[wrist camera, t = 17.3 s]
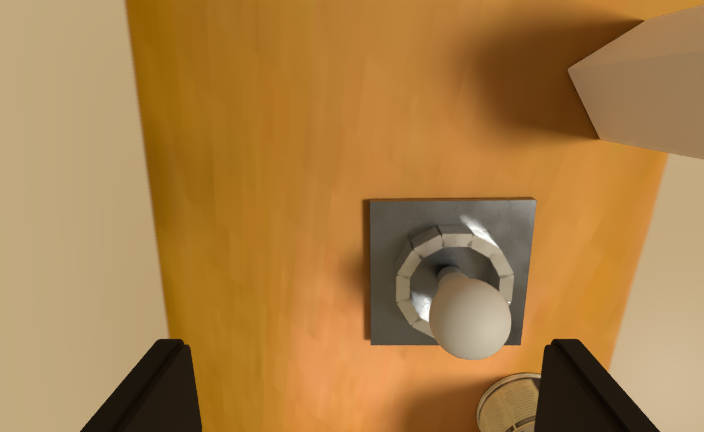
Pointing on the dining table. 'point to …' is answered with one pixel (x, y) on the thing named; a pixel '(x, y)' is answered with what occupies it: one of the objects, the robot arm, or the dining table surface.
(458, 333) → the lightbulb
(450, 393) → the dining table surface
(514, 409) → the coffee can
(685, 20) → the milk carton
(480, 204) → the ring collar
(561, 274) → the dining table surface
